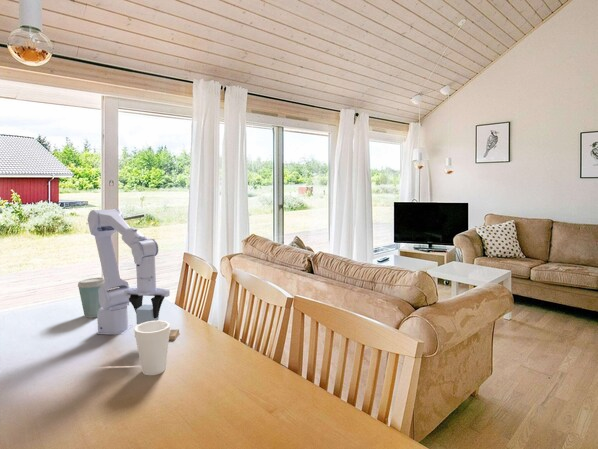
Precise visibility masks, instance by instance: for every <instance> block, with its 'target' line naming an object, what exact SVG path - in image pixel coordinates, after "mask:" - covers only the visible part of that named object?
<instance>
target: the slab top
mask: <svg viewBox="0 0 598 449" xmlns="http://www.w3.org/2000/svg"><path fill="white" fill-rule="evenodd" d="M178 334H180V329H170V334H169V340H174V341H176V339H177V338H178V337H179V336H178ZM177 336H178V337H177ZM176 337H177V338H176Z"/></svg>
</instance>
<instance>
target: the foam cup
mask: <svg viewBox="0 0 598 449" xmlns="http://www.w3.org/2000/svg"><path fill="white" fill-rule="evenodd" d="M133 330H134V331H133V332H134V338H135V341H136V346H137V352H138V356H139V361H140V367H141V371H142V373H143V375H146V376H156V375H161V373H164V372H165V371H166V368H167V362H168V361H167V360H168V351H169V350H168V349H169V342H170V341H169V334H170V330H171V323H170V322H168V321H165V320H157V321H148V322H144V323H141V324H136V325H135V327H134V329H133Z"/></svg>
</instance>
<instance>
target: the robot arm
mask: <svg viewBox="0 0 598 449" xmlns="http://www.w3.org/2000/svg"><path fill="white" fill-rule="evenodd" d="M87 224H88V230H89V232H90V235H92V236H93V237H94V240H95V243H96V248H97V253H98V256H99V258H98V259H99V261H100V262H99V263H100V265H101V270H102V275H103V278H104V280H105V282H104V283H103V284H102V285H101V287H100V288H99V289H98V292H99V303H100V306H101V308H100V309H99V311H98V315H97V317H96V318H97V332H96V334H97V335H124V334H125V333H126V332H127V331H129V330H130V329H132V328H133V327H134V325H133V324H132V325H131V324H129V317H128V316H129V315H128V306H130V303H131V305H132V307H133V309H134V311H135V313H136V309H138V308H139V307H141V306H142V305H143V300H144V299H143V298H144V296H145V297H146V296H148V297H152V298H150V301H151V305H153V316H154V318H157V317H158V316H159V315H160V310H161V306H162V303H163V301H164V299H165V298H168V297H169V296H171V294H170V293H171V292H170V289H166V288H159V287H157V282H156V281H157V280H156V278H157V276H156V256H157V255H158V253H159V244H158V242H157V241H156V240H155V238H148V237H146V236H145V235H144V234H143V233H142V232H141V231H139V229H138V228H137V227H130V225H129V224H128V223H127V222H126V221H125V220H124V215H123V212H122V211H121V210H120V209H119V208H114V209H113V208H112V209H97V210H95V209H91V210H90V211H89V212H88V217H87ZM116 232H118V234H121V239H122V241H123V243H124V244H126V245H127V246H128V247H129V248H130V249H131V254H132V256H133V262H134V264H135V267H136V287H135V288H130V286H129V282H127V281H126V280H124V279H122V278H121V276H120V271H119V266H118V263H117V258H116V253H115V250H114V246H113V240H112V235H113V234H115V233H116Z"/></svg>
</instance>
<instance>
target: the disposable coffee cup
mask: <svg viewBox="0 0 598 449" xmlns="http://www.w3.org/2000/svg"><path fill="white" fill-rule="evenodd" d="M104 282H105V280H104V276H102V277H101V276H100V277H91V278H85V279H81V280H79V281H78V284H77V287H78V290H79V296H80V302H81V306H82V311H83V315H84V317H85V318H88V319H89V318H90V319H91V318H97V315H98V311H99V309H100V308H101V306H100V303H99V292H98V289H99V288H100V287H101V285H102V284H103V283H104Z"/></svg>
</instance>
